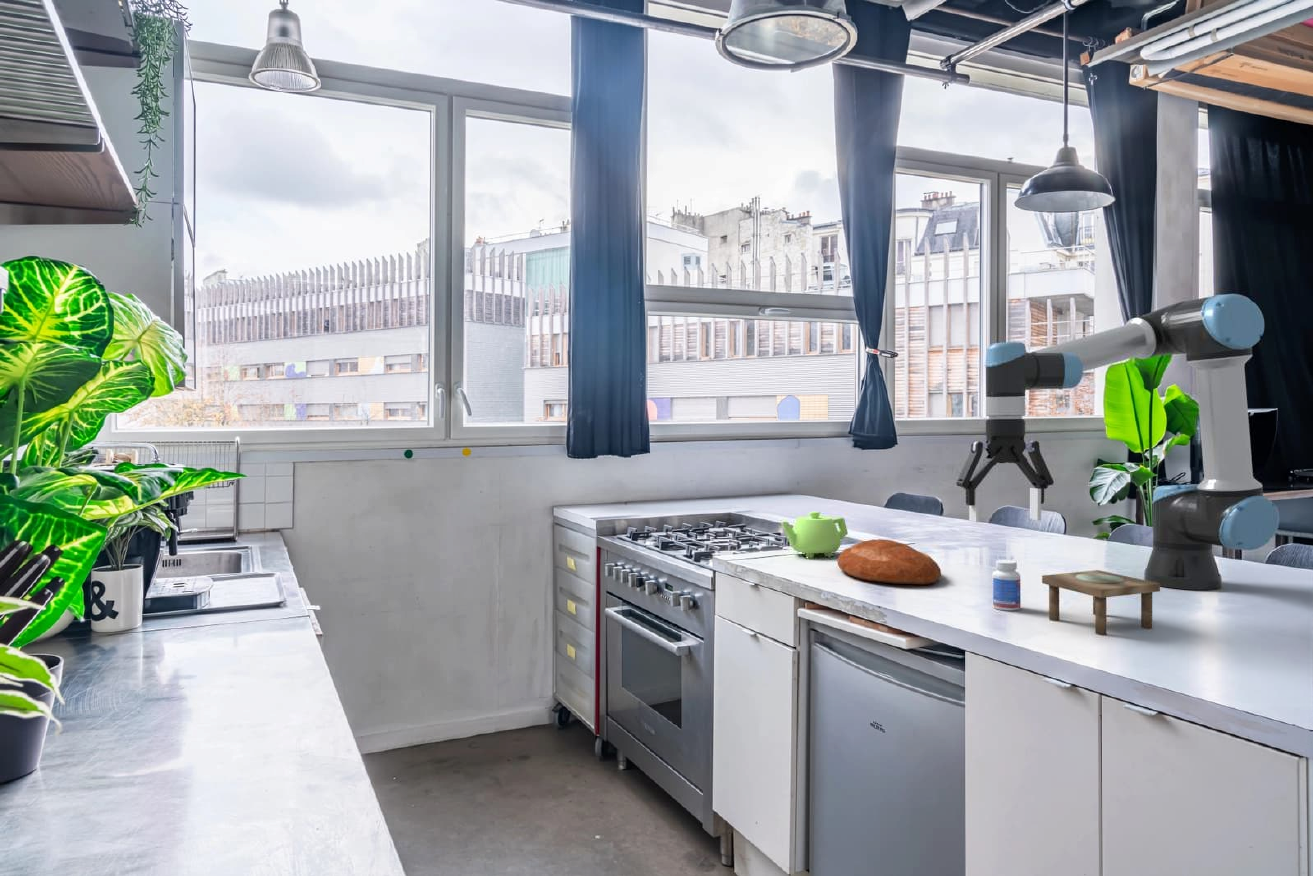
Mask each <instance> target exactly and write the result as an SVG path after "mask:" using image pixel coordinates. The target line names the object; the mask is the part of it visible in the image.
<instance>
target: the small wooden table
mask: <svg viewBox="0 0 1313 876" xmlns="http://www.w3.org/2000/svg"><path fill="white" fill-rule="evenodd" d="M1041 583H1042V584H1044V585H1048V619H1049V620H1050V621H1053V622H1054V621H1055V622H1058V621H1060V589H1063V590H1067V591H1072V592H1075V593H1079V594H1084V595H1087V596H1090V597H1091V596H1092V615H1094V620H1095V621H1094V622H1095V623H1094V626H1095V627H1094V629H1095V630H1094V631H1095V634H1096V635H1100V636H1106V635H1107V627H1108V626H1107V598H1112V597H1113V598H1114V597H1120V596H1121V597H1122V596H1131V595H1139V594H1140V622H1141V623H1140V627H1141V628H1142V629H1146V630H1151V629H1152V630H1153V593H1157V592H1159V593H1160V592H1161V586H1160V583H1156V582H1151V581H1146V580H1144V579H1141V578H1137V577H1133V576H1132V577H1131V576H1128V575H1127V576H1126V575H1122V574H1118V573H1113V572H1107V571H1103V570H1099V569H1095V570H1086V571H1085V570H1084V571H1077V572H1076V571H1075V572H1065V573H1055V574H1054V573H1053V574H1045V575H1042V576H1041Z"/></svg>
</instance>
